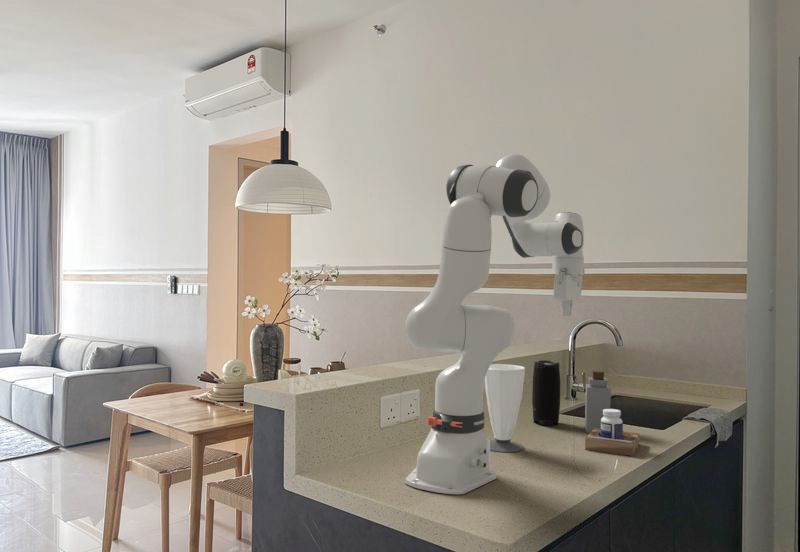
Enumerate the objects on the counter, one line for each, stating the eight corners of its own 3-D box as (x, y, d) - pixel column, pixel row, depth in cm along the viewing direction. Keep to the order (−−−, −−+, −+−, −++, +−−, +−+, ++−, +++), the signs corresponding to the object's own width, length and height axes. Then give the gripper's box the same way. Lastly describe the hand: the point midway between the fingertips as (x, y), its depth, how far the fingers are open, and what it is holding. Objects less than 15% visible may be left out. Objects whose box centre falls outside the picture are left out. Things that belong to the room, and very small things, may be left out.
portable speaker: (535, 426, 187) (535, 363, 187) (529, 419, 196) (530, 359, 196) (562, 427, 186) (563, 364, 187) (556, 420, 196) (556, 360, 196)
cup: (509, 439, 170) (510, 363, 170) (533, 450, 160) (534, 368, 160) (473, 443, 166) (474, 364, 166) (495, 454, 155) (497, 370, 155)
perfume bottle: (586, 432, 180) (587, 372, 181) (585, 427, 187) (585, 369, 187) (610, 434, 179) (611, 373, 179) (607, 428, 185) (608, 370, 186)
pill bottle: (619, 444, 167) (620, 408, 168) (624, 449, 162) (625, 412, 162) (598, 443, 168) (599, 407, 168) (602, 448, 162) (603, 411, 163)
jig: (632, 456, 156) (632, 443, 156) (585, 449, 161) (585, 436, 161) (639, 444, 168) (639, 431, 168) (594, 438, 174) (594, 426, 174)
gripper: (571, 267, 166) (570, 317, 165) (585, 269, 184) (585, 314, 183) (548, 267, 168) (547, 316, 168) (564, 269, 187) (564, 314, 186)
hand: (567, 315), depth 176 cm, fingers closed
